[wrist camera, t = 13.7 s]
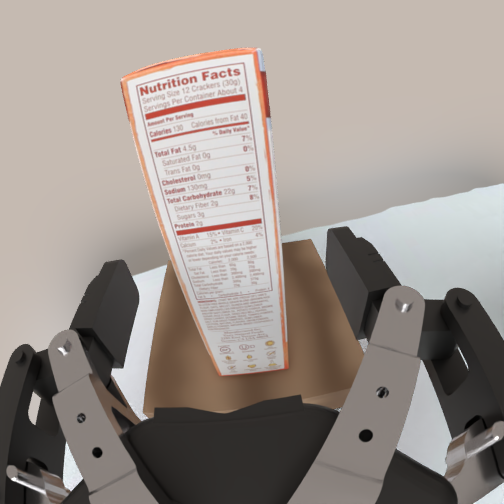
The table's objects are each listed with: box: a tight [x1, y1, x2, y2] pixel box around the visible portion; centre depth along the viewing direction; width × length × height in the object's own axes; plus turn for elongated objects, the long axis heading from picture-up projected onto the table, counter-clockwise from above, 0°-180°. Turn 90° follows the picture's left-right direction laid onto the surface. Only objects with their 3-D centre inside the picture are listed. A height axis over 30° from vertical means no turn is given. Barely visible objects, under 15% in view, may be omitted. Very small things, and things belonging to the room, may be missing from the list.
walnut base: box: [143, 239, 364, 418], centre depth 27 cm, size 18×20×4 cm
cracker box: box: [121, 48, 289, 376], centre depth 20 cm, size 14×6×21 cm, turn 3°
